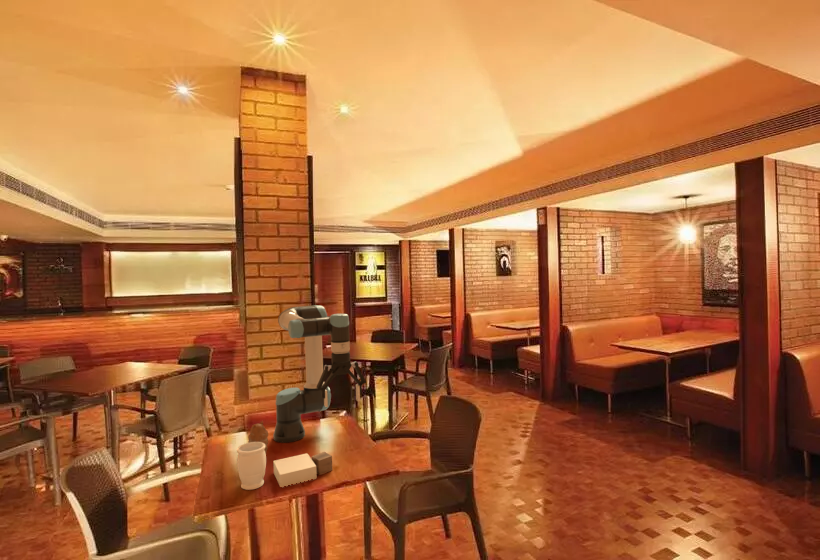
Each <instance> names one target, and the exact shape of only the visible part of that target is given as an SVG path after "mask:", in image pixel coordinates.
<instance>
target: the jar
mask: <svg viewBox="0 0 820 560" xmlns="http://www.w3.org/2000/svg"><path fill="white" fill-rule="evenodd" d="M265 447H266V445H265V443H263V442H250V443H248V442H246V443H243V444H241V445H239V446H238V447H237V448H236V453H237V459H236V461H237V463H236V465H237V472H238V476H239V479H240V482H241V484H240V487H241V489H243V490H247V491H248V490H249V491H251V490H255V489H259V488H260V487H262V486H263V485H264V483H265V480H264V477H265V474H266V466H267V456H266V455H267V453H266V454H265V450H264V449H265Z"/></svg>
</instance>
